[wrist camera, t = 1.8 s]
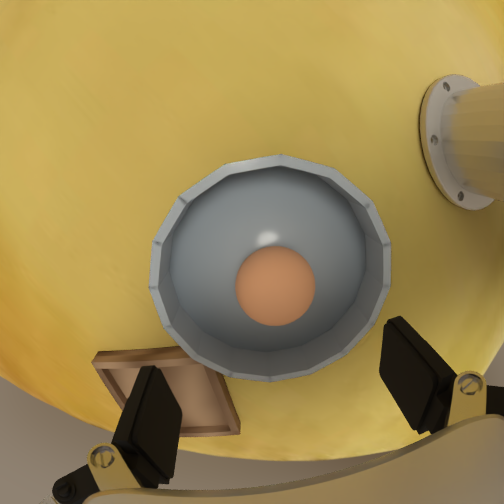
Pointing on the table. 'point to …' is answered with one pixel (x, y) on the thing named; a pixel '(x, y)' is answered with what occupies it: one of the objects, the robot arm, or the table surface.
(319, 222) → the bowl
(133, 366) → the tray
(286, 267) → the ball
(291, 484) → the robot arm
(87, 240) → the table surface
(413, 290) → the table surface
